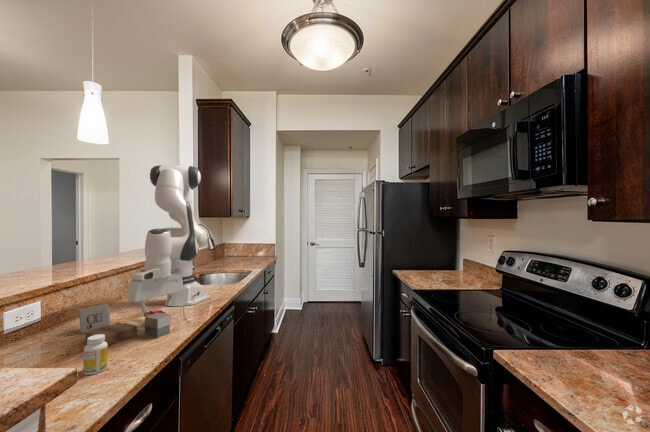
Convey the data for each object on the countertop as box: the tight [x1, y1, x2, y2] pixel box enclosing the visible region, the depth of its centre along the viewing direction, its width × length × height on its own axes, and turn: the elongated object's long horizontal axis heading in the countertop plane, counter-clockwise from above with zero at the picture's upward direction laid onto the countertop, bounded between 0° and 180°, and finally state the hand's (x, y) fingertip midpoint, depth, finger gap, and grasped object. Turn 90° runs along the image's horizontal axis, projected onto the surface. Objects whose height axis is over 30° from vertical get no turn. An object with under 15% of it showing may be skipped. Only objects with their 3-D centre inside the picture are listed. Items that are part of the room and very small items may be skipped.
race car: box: [143, 309, 169, 317], centre depth 125 cm, size 13×5×4 cm, turn 63°
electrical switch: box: [78, 303, 111, 335], centre depth 113 cm, size 9×5×9 cm, turn 141°
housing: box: [144, 313, 171, 339], centre depth 109 cm, size 5×7×7 cm
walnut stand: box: [84, 322, 138, 346], centre depth 105 cm, size 11×11×3 cm
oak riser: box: [123, 316, 145, 332], centre depth 117 cm, size 8×8×2 cm
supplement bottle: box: [82, 334, 109, 376], centre depth 82 cm, size 5×5×10 cm
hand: (157, 308), depth 108 cm, fingers open, 8 cm apart
